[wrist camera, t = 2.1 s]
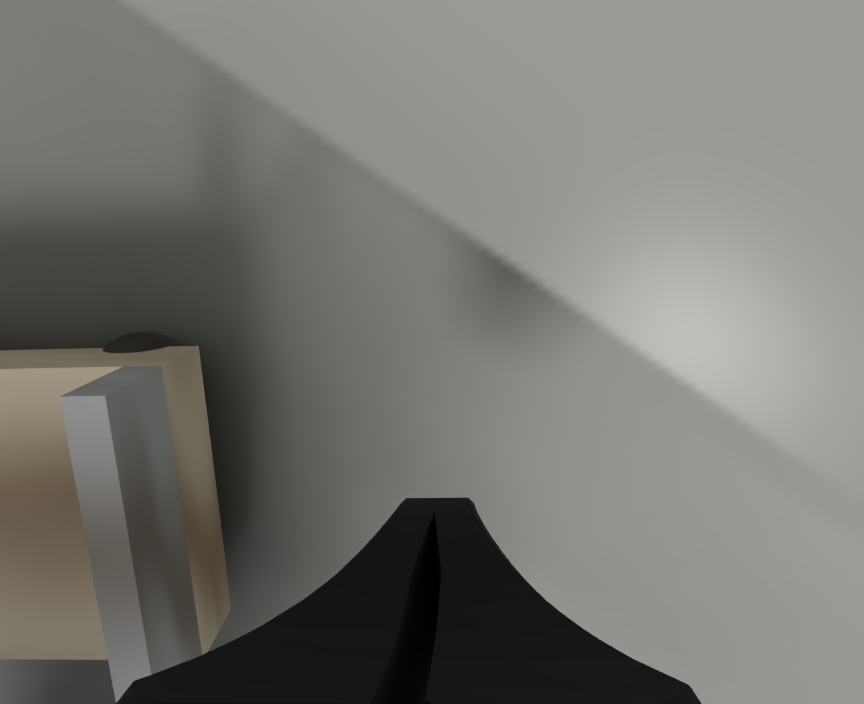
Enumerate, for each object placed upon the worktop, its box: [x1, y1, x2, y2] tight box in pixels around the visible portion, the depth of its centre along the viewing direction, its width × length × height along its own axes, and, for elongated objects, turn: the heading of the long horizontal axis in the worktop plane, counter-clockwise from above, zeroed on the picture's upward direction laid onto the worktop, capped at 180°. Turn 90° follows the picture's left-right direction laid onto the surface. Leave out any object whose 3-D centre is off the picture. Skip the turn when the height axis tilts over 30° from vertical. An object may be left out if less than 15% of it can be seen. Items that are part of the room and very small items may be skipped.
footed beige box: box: [0, 332, 232, 703], centre depth 14 cm, size 8×9×5 cm
